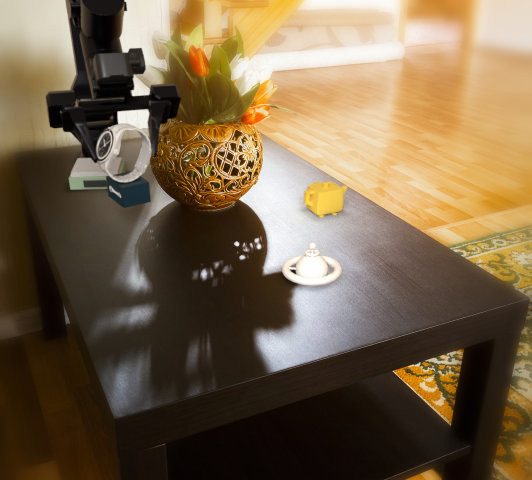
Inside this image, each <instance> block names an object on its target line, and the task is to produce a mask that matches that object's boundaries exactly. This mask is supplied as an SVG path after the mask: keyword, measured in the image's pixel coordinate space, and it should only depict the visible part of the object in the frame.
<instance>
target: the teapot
mask: <svg viewBox="0 0 532 480" xmlns="http://www.w3.org/2000/svg"><path fill="white" fill-rule="evenodd" d="M347 189H348V186H347V185H342V186H341V185H338V184H337V183H335V182H334V181H323V182H319V181H314V182H312V184H311V183H310V184H308V185H307V190H304V192H303V202H302V203H303V204H304V205H305V207H306V208H307V209H308V210H310V212H312V213H314V214H315V215H317V217H318V218H325V215H328V214H331V215H333V216H337V215H338V212H342V211H343V210H344V202H345V199H344V198H345V196H344V195H345V193H346V192H347Z"/></svg>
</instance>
